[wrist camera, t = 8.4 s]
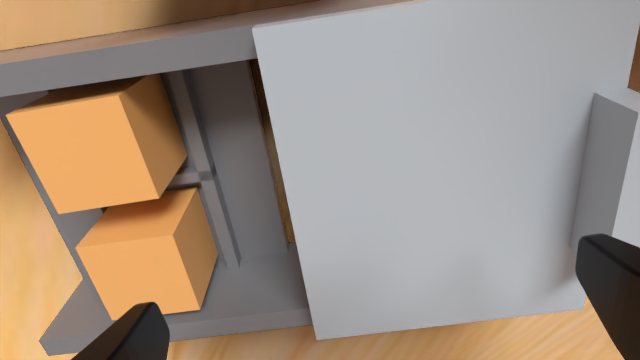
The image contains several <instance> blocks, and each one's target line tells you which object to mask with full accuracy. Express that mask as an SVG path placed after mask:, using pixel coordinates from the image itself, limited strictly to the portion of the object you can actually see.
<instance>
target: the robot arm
mask: <svg viewBox="0 0 640 360" xmlns="http://www.w3.org/2000/svg"><path fill="white" fill-rule="evenodd" d="M575 272H576V276H577V278H578V280H579V282H580V284H581V286H582V288H583V289H584V291H585V293H586V295H587V297H588V298H589V300H590V302H591V304H592V306H593V307H594V309H595V311H596V313H597V315H598V316H599V318H600V320H601V322H602V323H603V325H604V327H605V329H606V331H607V332H608V334H609V336H610V338H611V339H612V341H613V343H614V344H615V346H616V347H617V349H618V350H619V352H620V353H621V355H622V356H623V358H624V359H625V360H640V247H637V246H635V245H632V244H629V243H627V242H624V241H622V240H619V239H617V238H614V237H612V236H609V235H606V234H603V233H598V234H591V235H585V236H582V237H581V238H580V239H579V241H578V248H577V256H576V264H575ZM169 341H170V331H169V327H168V325H167V323H166V321H165V319H164V317H163V314H162V312H161V310H160V308H159V306H158V305H157V304H156V303H155V302H145V303H139V304H136V305H134V306H133V307H132V308H130V309H129V310H128V311H127V312H126V313H125V314H123V315H122V316H121V317H120V318H119V319H118V320H116V321H115V322H114V323H113V324H112V325H111V326H110V327H108V328H107V329H106V330H105V331H104V332H103V333H101V334H100V335H99V336H98V337H97V338H96V339H94V340H93V341H92V342H91V343H90V344H89V345H87V346H86V347H85V348H84V349H83V350H82V351H80V352H79V353H78V354H77V355H76V356H75V357H73V358H72V359H71V360H166V358H167V353H168V347H169Z"/></svg>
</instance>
